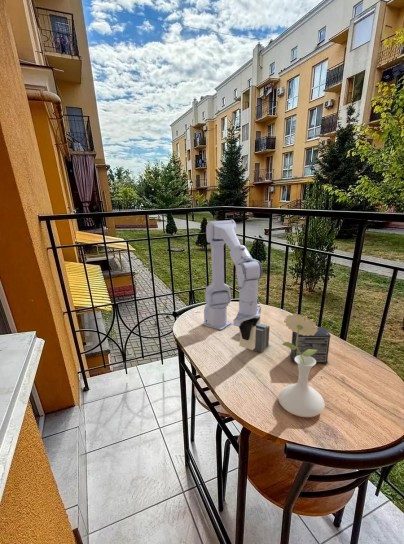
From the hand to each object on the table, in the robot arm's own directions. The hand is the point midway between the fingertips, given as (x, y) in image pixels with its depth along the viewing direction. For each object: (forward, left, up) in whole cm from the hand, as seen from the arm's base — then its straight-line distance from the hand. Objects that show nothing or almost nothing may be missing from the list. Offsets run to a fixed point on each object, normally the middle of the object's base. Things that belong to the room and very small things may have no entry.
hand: (247, 337), depth 93 cm
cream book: (0, 0, -3) cm, 3 cm away
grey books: (0, +8, -8) cm, 11 cm away
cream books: (-9, +21, -8) cm, 24 cm away
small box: (+17, +11, -8) cm, 22 cm away
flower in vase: (+22, -12, -8) cm, 26 cm away
